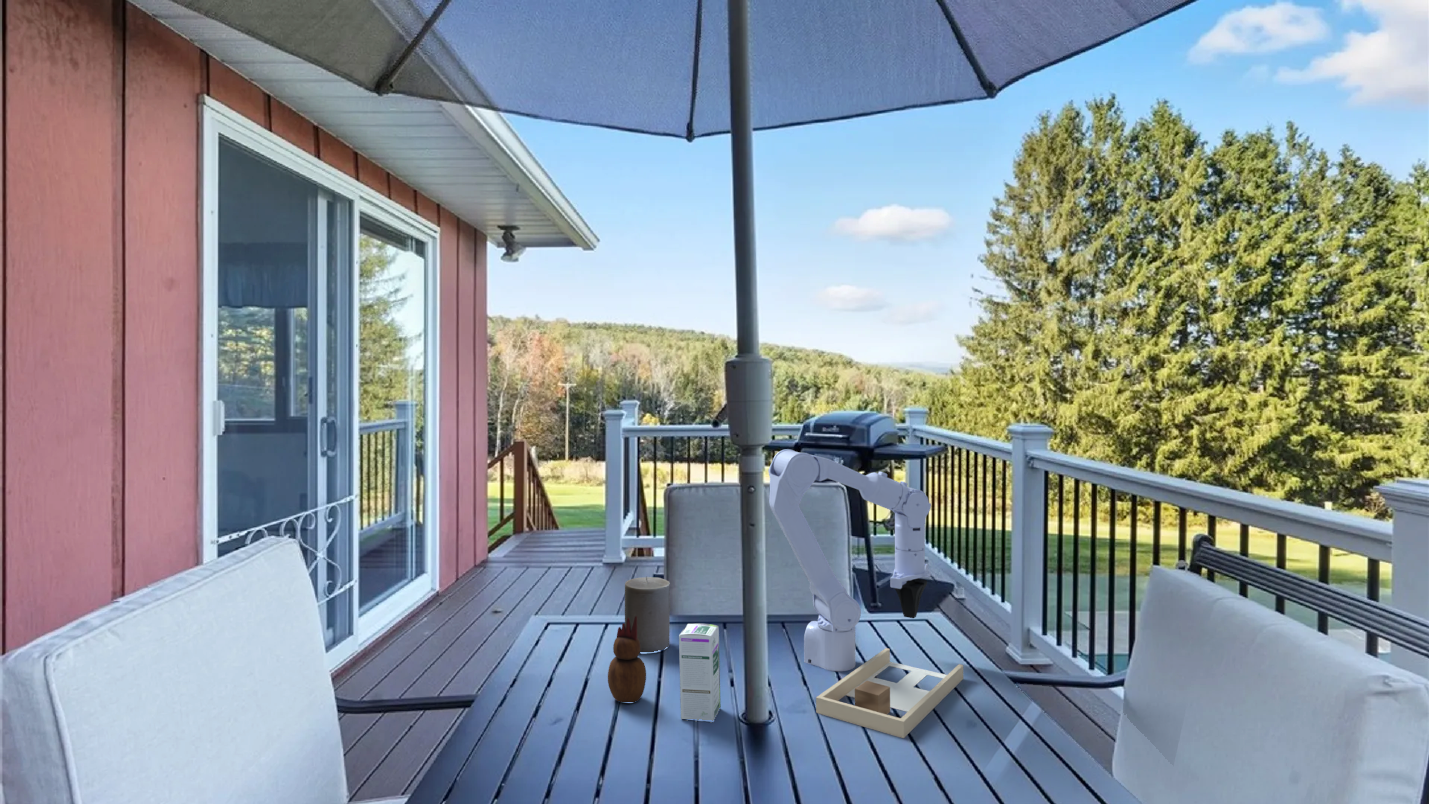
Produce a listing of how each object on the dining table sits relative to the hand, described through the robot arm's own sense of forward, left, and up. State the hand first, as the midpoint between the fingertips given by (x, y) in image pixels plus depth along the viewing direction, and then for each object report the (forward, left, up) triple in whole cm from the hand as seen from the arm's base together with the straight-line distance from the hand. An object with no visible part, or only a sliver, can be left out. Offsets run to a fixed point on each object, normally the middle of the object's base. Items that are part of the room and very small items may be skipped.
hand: (909, 616), depth 144 cm
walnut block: (+5, -28, -8) cm, 29 cm away
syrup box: (-20, -42, -10) cm, 47 cm away
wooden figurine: (-34, -45, -10) cm, 57 cm away
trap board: (+5, -19, -9) cm, 22 cm away
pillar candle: (-49, -23, -10) cm, 55 cm away
